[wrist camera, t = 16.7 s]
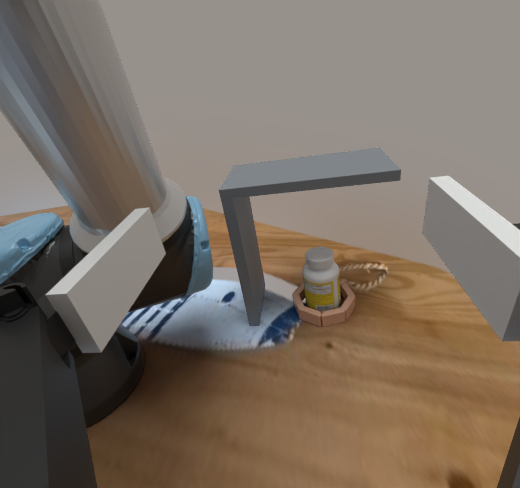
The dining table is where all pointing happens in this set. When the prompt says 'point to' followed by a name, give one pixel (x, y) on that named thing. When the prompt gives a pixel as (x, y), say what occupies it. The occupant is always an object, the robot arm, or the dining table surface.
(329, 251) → the supplement bottle
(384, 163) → the grey l-shaped rod
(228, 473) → the dining table surface
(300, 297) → the socket
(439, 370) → the dining table surface
